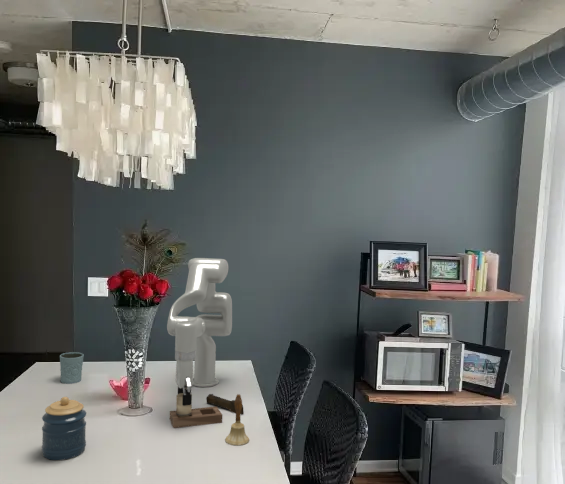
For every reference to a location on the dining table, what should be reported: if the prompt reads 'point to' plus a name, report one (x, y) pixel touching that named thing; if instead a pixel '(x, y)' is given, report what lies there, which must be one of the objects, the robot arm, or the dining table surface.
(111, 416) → the dining table surface
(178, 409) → the oak peg
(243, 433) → the hand bell
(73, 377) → the grey embossed cup
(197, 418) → the walnut board
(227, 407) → the hand tool
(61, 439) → the canister
